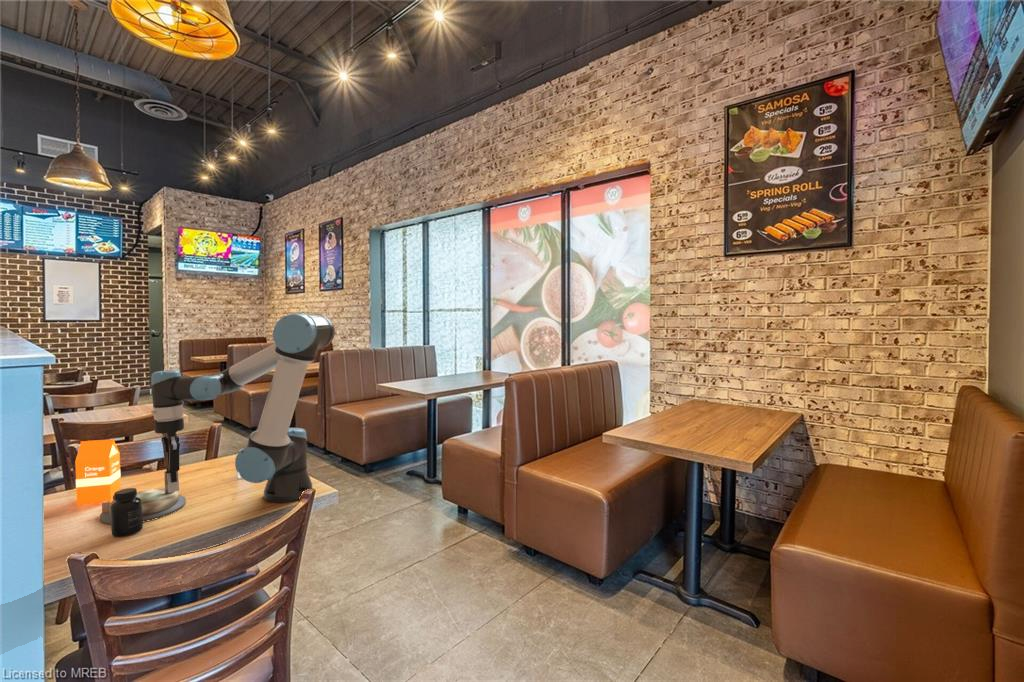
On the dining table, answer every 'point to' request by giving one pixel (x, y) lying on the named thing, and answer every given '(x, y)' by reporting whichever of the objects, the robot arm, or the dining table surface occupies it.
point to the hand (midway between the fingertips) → (173, 491)
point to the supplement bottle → (126, 513)
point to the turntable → (155, 499)
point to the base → (106, 518)
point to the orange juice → (97, 471)
